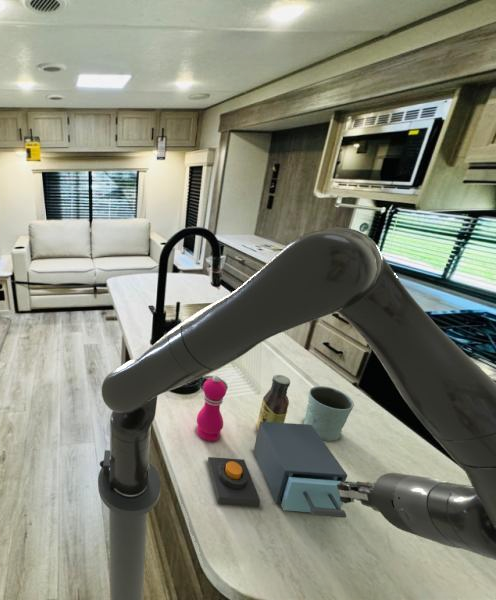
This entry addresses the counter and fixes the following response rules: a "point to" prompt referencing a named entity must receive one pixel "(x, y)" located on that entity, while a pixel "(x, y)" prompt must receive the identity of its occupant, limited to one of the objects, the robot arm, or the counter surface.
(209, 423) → the pepper mill
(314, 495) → the light blue drawer
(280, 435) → the grey drawer cabinet
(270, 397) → the sauce bottle
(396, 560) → the counter surface
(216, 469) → the block
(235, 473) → the button
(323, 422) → the embossed plant pot
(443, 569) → the counter surface
